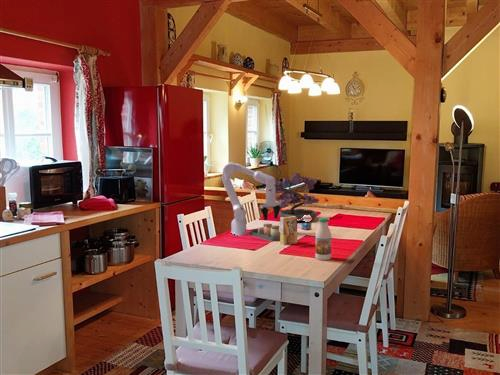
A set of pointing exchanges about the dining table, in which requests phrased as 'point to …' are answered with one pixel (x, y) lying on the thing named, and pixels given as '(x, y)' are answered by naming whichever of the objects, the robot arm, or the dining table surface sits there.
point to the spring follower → (261, 230)
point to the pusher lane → (255, 233)
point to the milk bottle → (323, 240)
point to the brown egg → (274, 230)
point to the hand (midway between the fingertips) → (270, 219)
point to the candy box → (288, 230)
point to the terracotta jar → (267, 229)
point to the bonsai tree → (295, 196)
